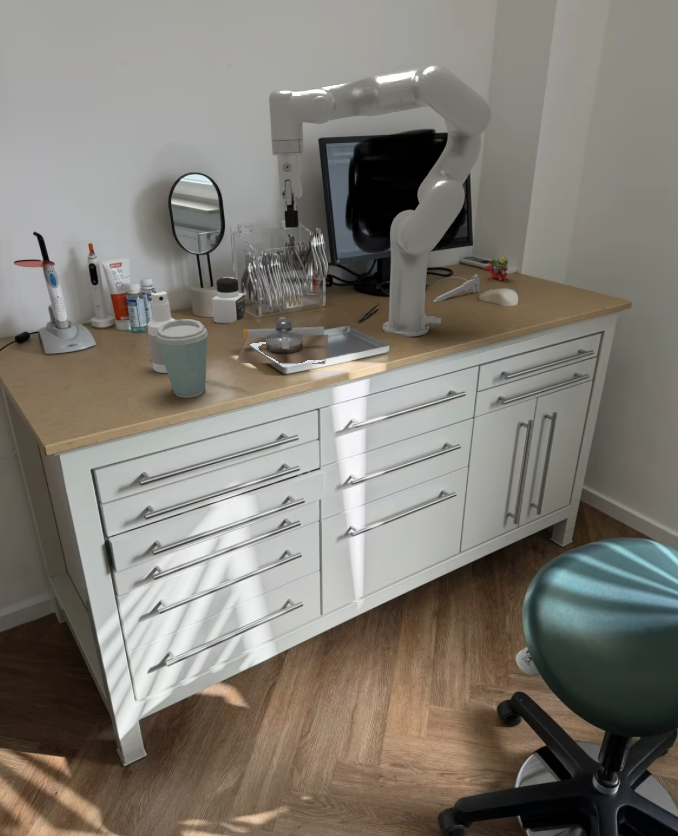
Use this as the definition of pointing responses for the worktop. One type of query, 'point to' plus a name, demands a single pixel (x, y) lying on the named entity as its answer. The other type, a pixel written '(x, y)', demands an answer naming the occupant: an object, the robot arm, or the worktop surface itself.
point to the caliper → (461, 289)
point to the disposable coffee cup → (184, 355)
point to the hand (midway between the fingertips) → (292, 226)
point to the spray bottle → (159, 317)
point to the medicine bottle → (228, 301)
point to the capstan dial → (283, 336)
